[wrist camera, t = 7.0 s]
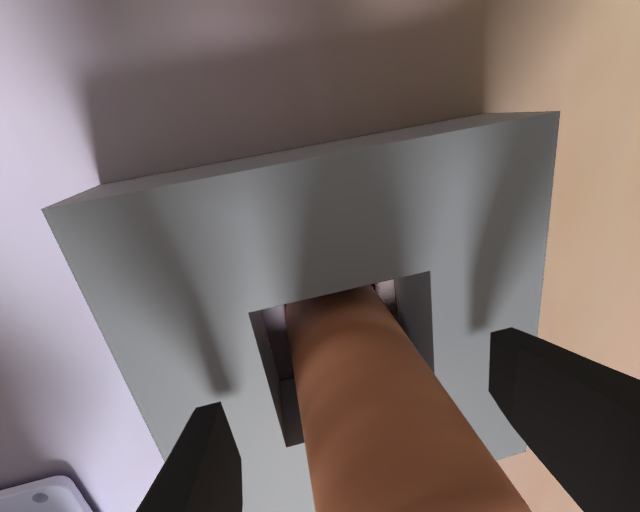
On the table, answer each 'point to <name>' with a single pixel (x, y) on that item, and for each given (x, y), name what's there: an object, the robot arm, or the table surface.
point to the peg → (383, 417)
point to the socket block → (315, 272)
